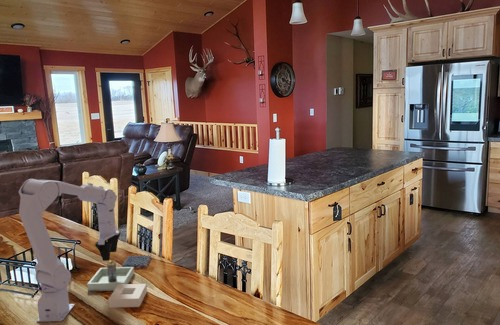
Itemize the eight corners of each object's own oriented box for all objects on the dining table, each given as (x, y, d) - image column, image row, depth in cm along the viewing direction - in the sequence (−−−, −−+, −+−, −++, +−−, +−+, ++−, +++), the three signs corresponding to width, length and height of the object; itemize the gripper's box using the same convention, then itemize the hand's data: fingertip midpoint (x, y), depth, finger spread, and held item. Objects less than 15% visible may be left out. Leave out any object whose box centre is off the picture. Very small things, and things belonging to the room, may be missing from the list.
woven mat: (120, 270, 156) (120, 265, 156) (128, 259, 166) (128, 254, 166) (146, 269, 156) (146, 265, 156) (152, 258, 166) (152, 254, 166)
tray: (124, 290, 139) (123, 282, 138) (87, 291, 139) (87, 283, 138) (134, 273, 152) (133, 266, 151) (101, 274, 152) (100, 267, 151)
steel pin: (114, 282, 143) (113, 263, 142) (106, 282, 144) (105, 262, 143) (118, 278, 146) (117, 259, 145) (110, 278, 147) (109, 259, 145)
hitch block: (139, 306, 128) (138, 298, 127) (109, 307, 128) (108, 299, 127) (146, 291, 138) (146, 283, 137) (118, 292, 138) (118, 284, 137)
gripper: (111, 227, 134) (114, 264, 136) (123, 214, 148) (126, 248, 151) (90, 227, 134) (94, 264, 136) (105, 214, 148) (108, 248, 151)
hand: (109, 255), depth 143 cm, fingers open, 7 cm apart
